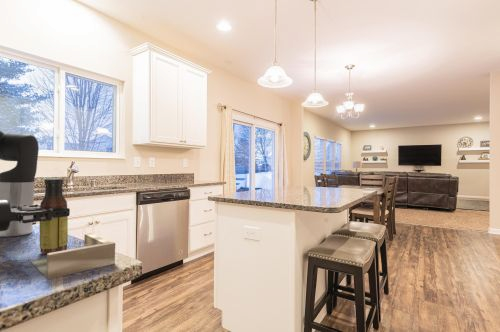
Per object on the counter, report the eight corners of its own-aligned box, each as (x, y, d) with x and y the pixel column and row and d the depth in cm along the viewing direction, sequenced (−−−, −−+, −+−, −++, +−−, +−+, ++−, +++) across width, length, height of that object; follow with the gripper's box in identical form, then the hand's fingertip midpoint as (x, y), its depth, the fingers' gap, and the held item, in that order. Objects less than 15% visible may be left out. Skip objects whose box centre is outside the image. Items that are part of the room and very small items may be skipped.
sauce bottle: (63, 247, 79) (65, 177, 79) (70, 251, 75) (73, 178, 75) (34, 251, 74) (38, 177, 74) (41, 257, 70) (45, 179, 70)
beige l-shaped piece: (31, 262, 66) (31, 241, 66) (91, 251, 77) (92, 232, 77) (48, 279, 57) (49, 255, 57) (114, 263, 68) (115, 243, 68)
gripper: (-14, 204, 59) (74, 199, 72) (-22, 197, 68) (57, 194, 81) (-15, 239, 59) (73, 228, 72) (-24, 228, 68) (56, 220, 81)
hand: (64, 210), depth 77 cm, fingers open, 6 cm apart
